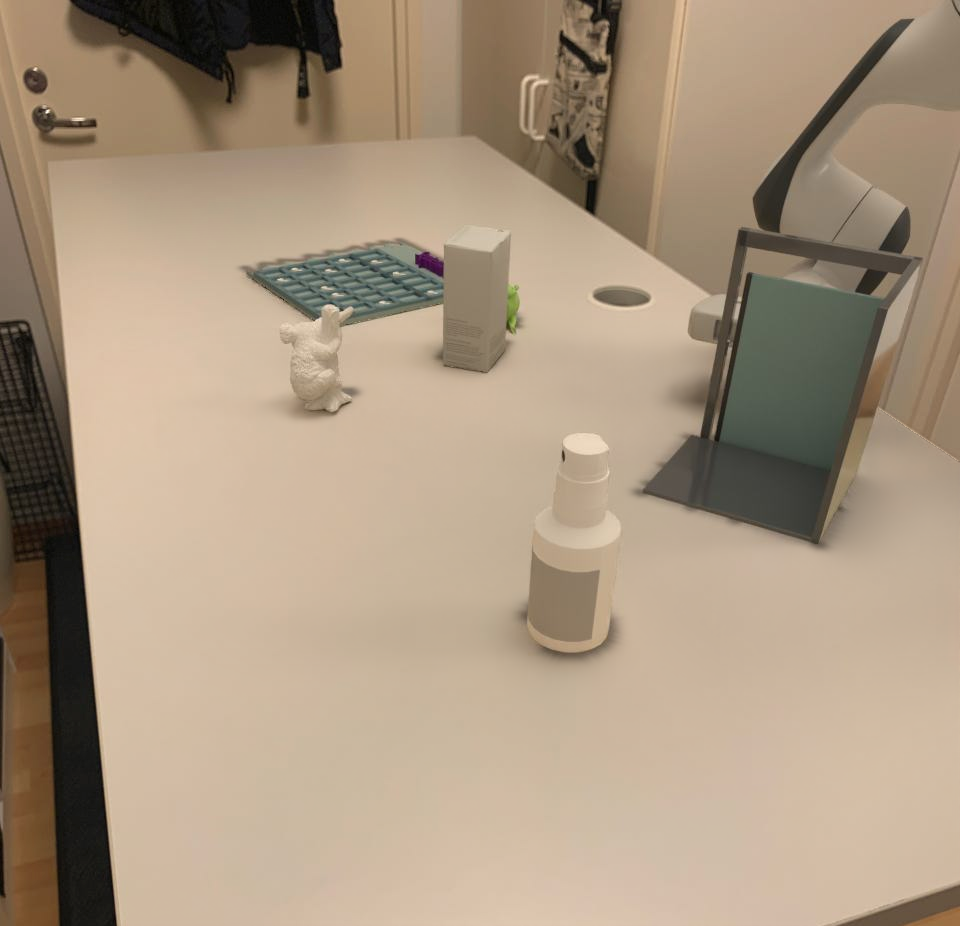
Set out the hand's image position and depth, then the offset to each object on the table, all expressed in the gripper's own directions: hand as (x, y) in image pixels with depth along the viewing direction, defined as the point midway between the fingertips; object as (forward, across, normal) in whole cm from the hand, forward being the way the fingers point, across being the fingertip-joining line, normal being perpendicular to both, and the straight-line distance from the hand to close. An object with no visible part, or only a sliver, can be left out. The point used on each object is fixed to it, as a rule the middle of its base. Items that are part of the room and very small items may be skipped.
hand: (759, 355), depth 102 cm
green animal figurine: (-15, -41, +10) cm, 45 cm away
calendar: (-19, -66, +10) cm, 69 cm away
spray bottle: (+43, -1, +10) cm, 44 cm away
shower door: (+1, +5, +9) cm, 11 cm away
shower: (+11, +4, +10) cm, 16 cm away
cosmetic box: (-4, -37, +10) cm, 39 cm away
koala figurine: (+18, -45, +10) cm, 50 cm away
